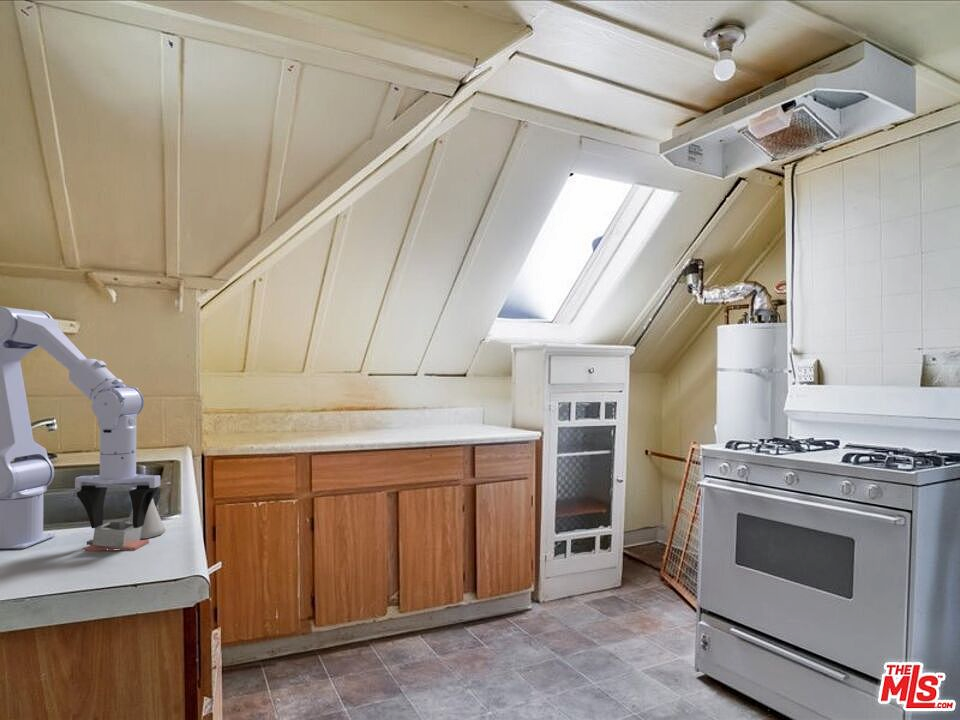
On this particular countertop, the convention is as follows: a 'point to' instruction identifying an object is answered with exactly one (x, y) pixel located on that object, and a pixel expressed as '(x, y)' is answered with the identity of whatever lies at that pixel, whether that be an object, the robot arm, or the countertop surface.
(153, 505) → the flask
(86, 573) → the countertop surface
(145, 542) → the keeper hook
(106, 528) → the link
